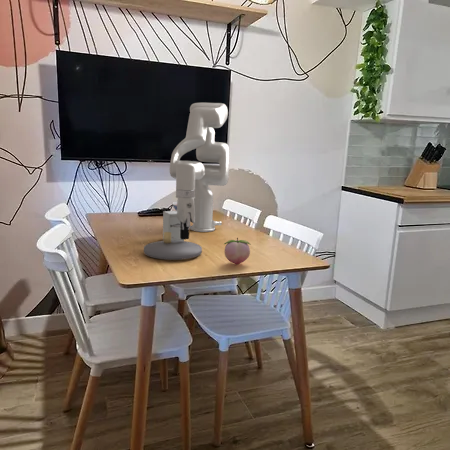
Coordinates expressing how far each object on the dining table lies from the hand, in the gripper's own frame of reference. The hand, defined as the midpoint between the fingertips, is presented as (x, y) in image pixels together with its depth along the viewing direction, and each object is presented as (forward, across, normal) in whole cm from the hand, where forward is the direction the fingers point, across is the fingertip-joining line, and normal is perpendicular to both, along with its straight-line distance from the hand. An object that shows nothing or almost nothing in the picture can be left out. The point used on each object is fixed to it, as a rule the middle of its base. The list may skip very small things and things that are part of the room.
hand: (184, 238), depth 163 cm
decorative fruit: (+4, -26, -11) cm, 29 cm away
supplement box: (+4, +13, +1) cm, 13 cm away
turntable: (+4, -7, +7) cm, 11 cm away
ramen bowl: (+4, +66, -25) cm, 70 cm away
